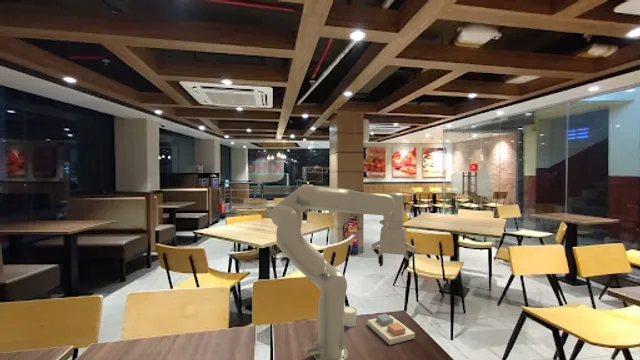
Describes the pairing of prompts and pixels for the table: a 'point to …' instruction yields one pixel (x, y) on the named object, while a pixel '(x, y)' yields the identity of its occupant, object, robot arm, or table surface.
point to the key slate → (384, 319)
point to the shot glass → (349, 316)
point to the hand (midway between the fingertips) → (393, 266)
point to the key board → (389, 336)
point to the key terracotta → (396, 329)
